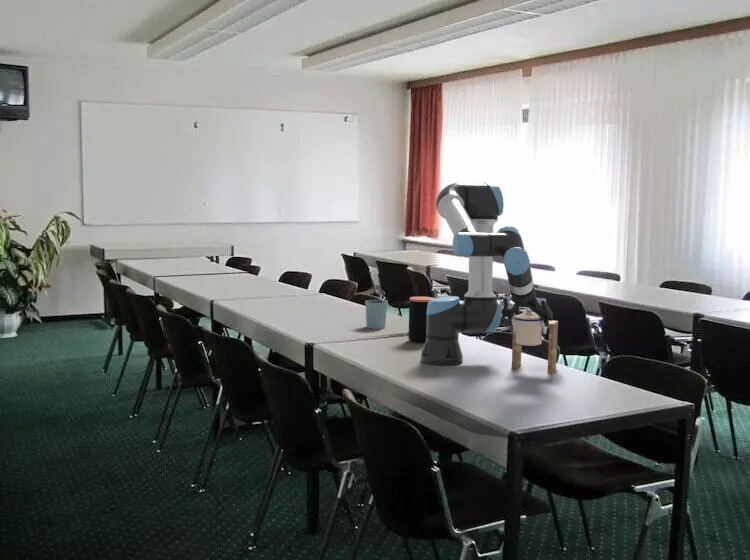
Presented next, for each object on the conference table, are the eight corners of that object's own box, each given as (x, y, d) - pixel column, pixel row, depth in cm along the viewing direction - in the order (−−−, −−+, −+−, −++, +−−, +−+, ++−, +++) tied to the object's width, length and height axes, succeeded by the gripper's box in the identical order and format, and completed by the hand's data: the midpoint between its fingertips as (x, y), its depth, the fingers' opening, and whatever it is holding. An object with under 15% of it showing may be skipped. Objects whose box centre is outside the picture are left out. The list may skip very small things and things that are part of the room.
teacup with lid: (547, 345, 262) (547, 310, 261) (522, 346, 260) (522, 311, 259) (530, 339, 274) (531, 305, 273) (506, 340, 271) (506, 306, 270)
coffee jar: (438, 340, 329) (439, 297, 328) (426, 344, 320) (427, 300, 319) (416, 338, 335) (417, 295, 333) (403, 341, 326) (404, 298, 324)
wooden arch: (511, 369, 278) (513, 320, 276) (516, 364, 285) (518, 317, 284) (551, 373, 273) (553, 324, 271) (556, 368, 280) (558, 320, 278)
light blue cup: (362, 328, 356) (363, 302, 355) (366, 325, 366) (367, 299, 365) (385, 329, 355) (385, 303, 353) (388, 326, 365) (389, 300, 363)
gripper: (485, 294, 255) (496, 335, 271) (555, 298, 246) (561, 341, 262) (490, 276, 259) (500, 318, 275) (558, 280, 251) (565, 323, 267)
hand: (530, 329), depth 269 cm, fingers closed on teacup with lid, 9 cm apart
